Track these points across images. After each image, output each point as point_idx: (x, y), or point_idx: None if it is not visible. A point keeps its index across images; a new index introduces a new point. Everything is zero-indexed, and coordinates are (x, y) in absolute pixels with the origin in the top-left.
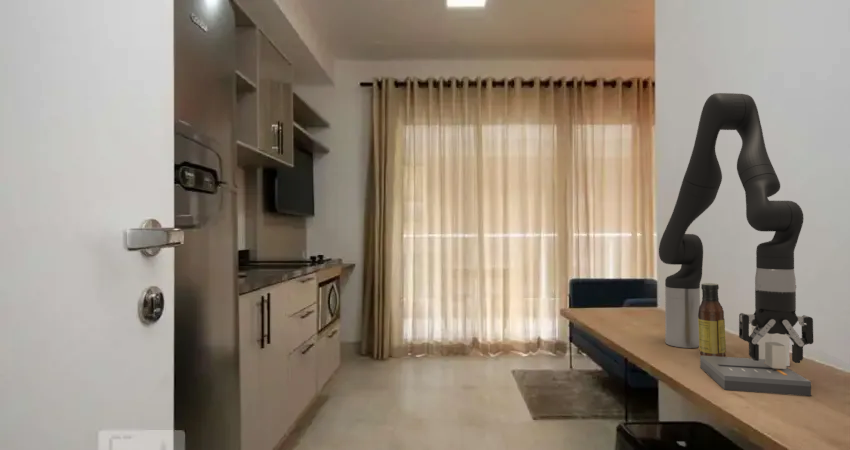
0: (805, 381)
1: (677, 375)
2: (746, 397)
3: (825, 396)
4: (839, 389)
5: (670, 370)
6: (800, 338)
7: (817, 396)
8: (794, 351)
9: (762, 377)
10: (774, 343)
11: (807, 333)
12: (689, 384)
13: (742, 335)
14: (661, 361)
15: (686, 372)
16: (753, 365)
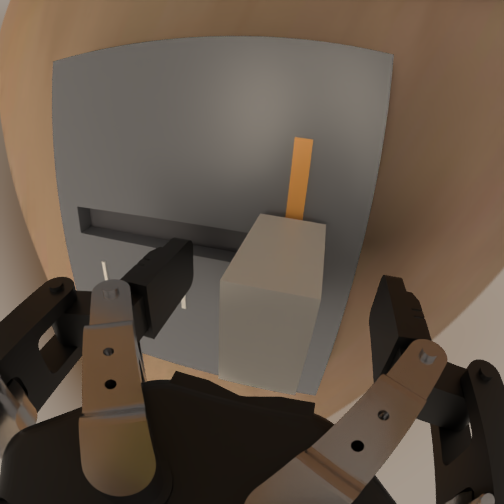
0: (299, 392)
1: (29, 190)
2: (147, 357)
3: (363, 359)
4: (469, 296)
5: (19, 139)
6: (442, 396)
7: (338, 360)
8: (382, 336)
9: (179, 358)
10: (266, 333)
11: (436, 471)
12: (51, 269)
13: (52, 342)
14: (19, 34)
15: (45, 148)
16: (208, 202)
